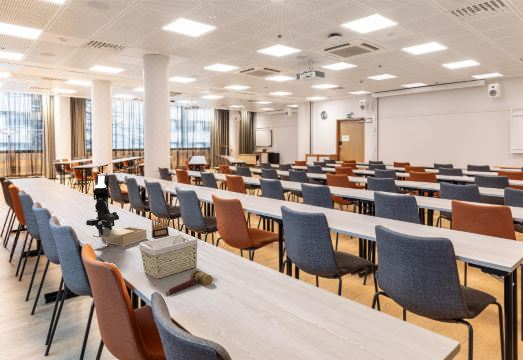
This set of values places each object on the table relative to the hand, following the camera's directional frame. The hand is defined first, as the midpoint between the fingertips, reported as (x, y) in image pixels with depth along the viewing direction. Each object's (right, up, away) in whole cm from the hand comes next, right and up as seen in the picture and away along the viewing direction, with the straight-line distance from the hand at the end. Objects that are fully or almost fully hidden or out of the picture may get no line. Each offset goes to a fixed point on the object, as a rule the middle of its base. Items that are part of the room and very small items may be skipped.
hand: (104, 234), depth 222 cm
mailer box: (+8, -6, +15) cm, 18 cm away
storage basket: (+49, -12, -40) cm, 64 cm away
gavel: (+61, -15, -62) cm, 88 cm away
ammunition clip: (+27, -5, +23) cm, 36 cm away
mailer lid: (+3, -1, +6) cm, 7 cm away
